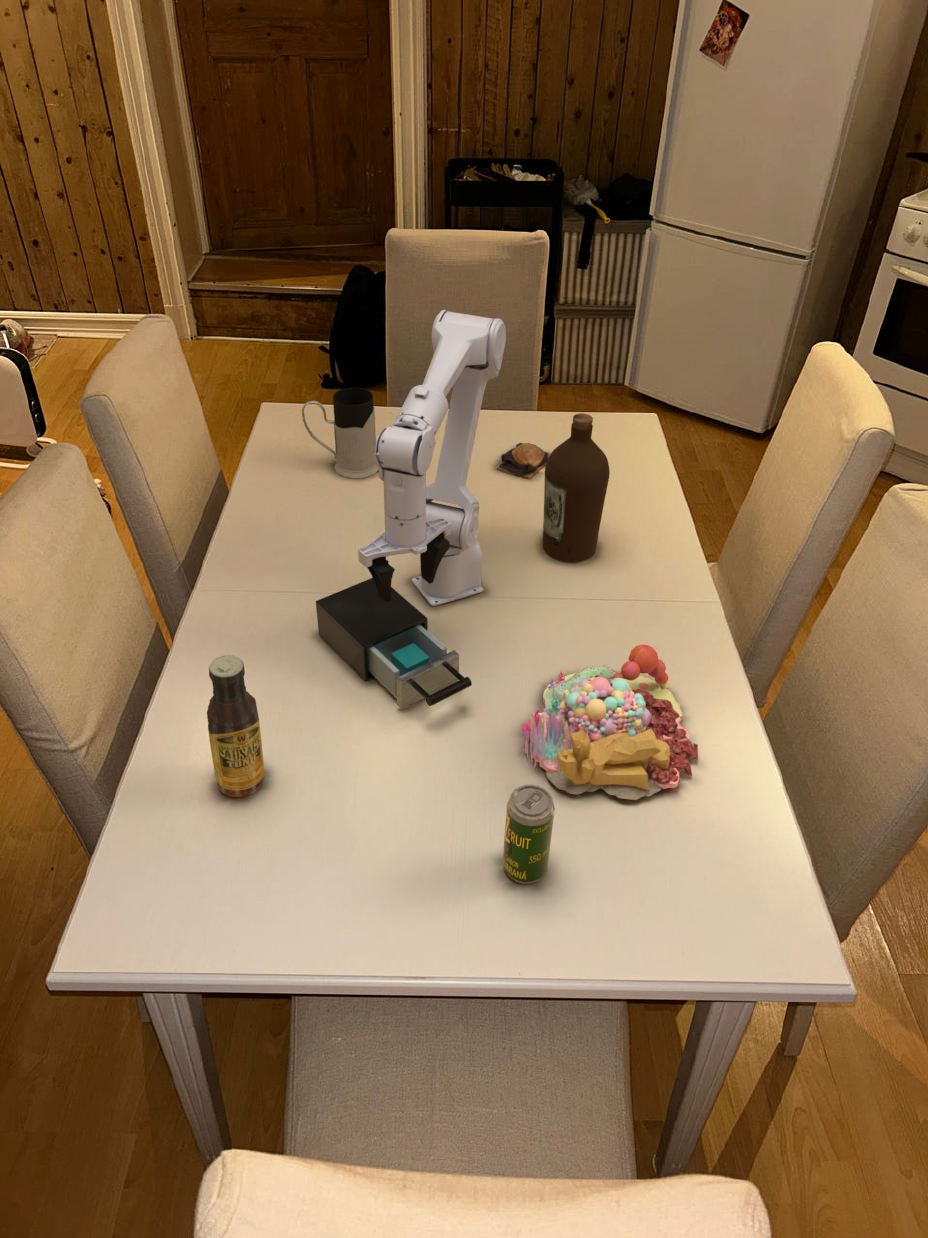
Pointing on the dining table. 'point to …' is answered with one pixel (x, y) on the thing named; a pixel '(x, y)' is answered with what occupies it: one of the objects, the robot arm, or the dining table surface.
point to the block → (409, 658)
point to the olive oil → (574, 494)
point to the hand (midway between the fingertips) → (406, 589)
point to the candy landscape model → (612, 730)
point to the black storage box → (363, 622)
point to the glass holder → (352, 432)
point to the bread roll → (523, 460)
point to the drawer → (417, 669)
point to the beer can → (528, 833)
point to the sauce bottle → (234, 730)
